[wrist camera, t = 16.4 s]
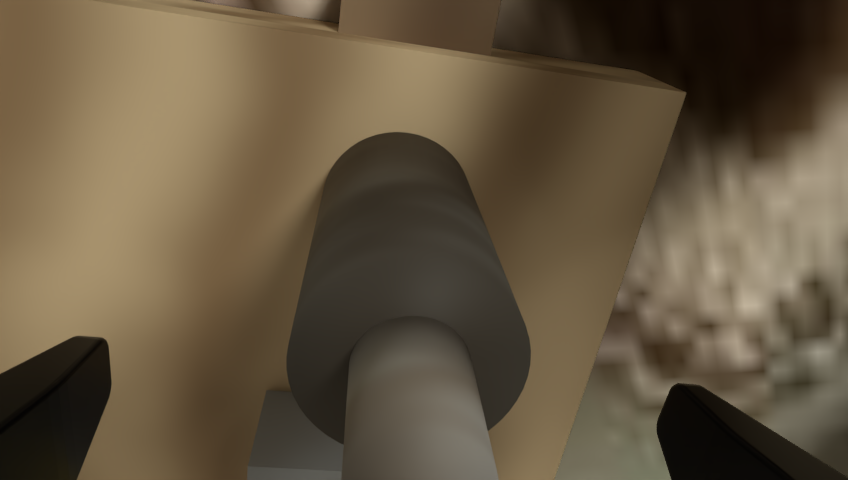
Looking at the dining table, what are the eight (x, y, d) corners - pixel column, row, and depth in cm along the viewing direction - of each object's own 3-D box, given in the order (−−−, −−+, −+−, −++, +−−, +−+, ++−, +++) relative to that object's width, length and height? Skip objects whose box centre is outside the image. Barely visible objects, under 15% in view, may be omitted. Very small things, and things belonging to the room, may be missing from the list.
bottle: (483, 143, 15) (616, 378, 7) (456, 276, 17) (536, 598, 9) (329, 122, 15) (264, 348, 6) (316, 261, 17) (252, 589, 8)
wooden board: (652, 19, 18) (707, 31, 15) (512, 484, 25) (529, 551, 23) (-185, -124, 15) (-322, -144, 12) (-48, 452, 22) (-110, 525, 20)
